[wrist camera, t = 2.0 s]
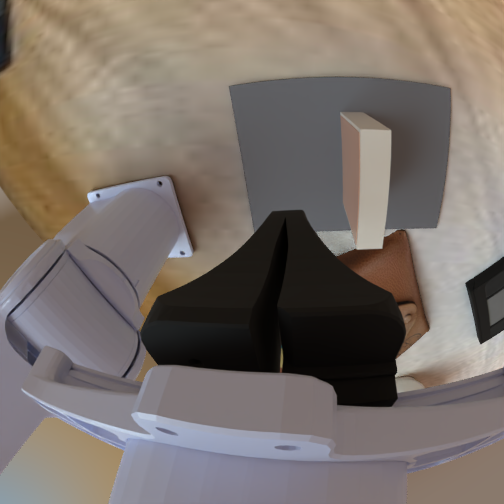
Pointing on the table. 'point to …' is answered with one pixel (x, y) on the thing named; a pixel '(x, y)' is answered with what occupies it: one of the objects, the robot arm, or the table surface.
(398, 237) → the sunglasses case
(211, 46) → the table surface
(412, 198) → the mat
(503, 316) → the vhs tape
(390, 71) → the table surface
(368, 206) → the tile
